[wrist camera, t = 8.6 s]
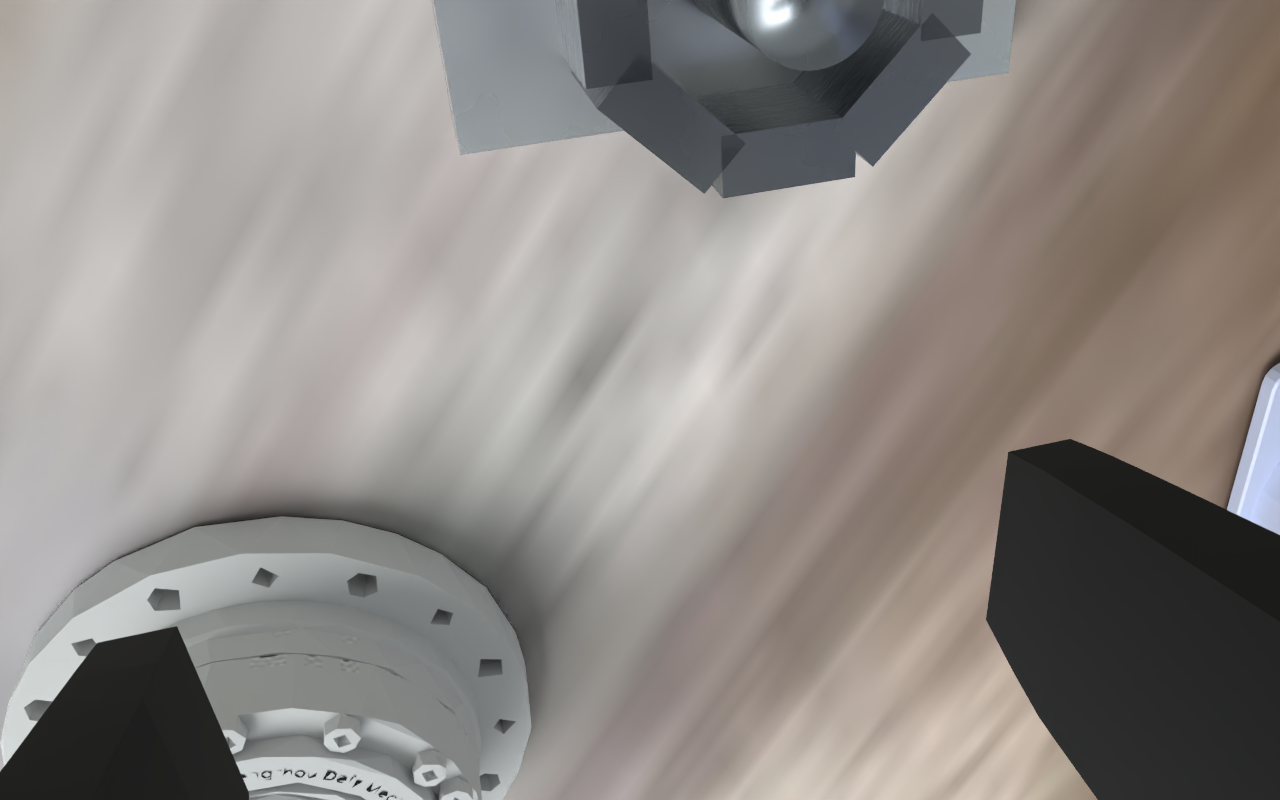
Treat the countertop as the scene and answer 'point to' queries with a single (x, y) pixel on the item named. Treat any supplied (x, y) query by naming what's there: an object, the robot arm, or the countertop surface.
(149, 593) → the mechanical component
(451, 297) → the countertop surface
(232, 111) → the countertop surface
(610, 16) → the piston block
